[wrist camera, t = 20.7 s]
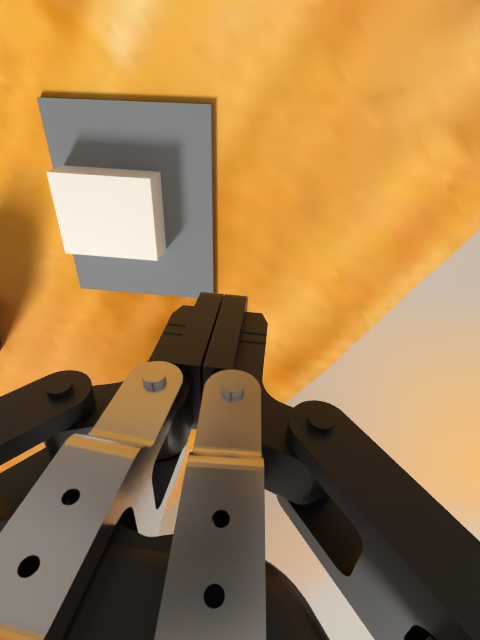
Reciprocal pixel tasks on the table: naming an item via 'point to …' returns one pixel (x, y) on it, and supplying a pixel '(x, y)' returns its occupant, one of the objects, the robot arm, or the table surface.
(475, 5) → the table surface
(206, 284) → the slate mat
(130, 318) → the table surface
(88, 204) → the cream block
